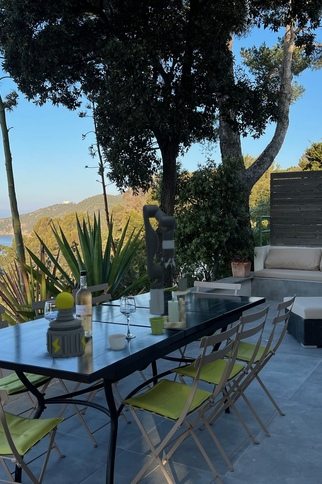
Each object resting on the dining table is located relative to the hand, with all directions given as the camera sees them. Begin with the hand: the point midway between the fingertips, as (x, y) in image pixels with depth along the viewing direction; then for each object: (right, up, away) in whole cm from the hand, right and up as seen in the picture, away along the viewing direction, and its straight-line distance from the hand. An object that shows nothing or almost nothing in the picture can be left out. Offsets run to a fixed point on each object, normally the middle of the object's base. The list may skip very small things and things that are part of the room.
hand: (169, 273), depth 314 cm
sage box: (+3, -31, -12) cm, 33 cm away
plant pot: (-7, -32, -37) cm, 49 cm away
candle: (-27, -34, -67) cm, 80 cm away
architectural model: (+11, -28, +61) cm, 68 cm away
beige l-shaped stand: (+3, -31, -12) cm, 33 cm away
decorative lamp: (-51, -35, -73) cm, 96 cm away
